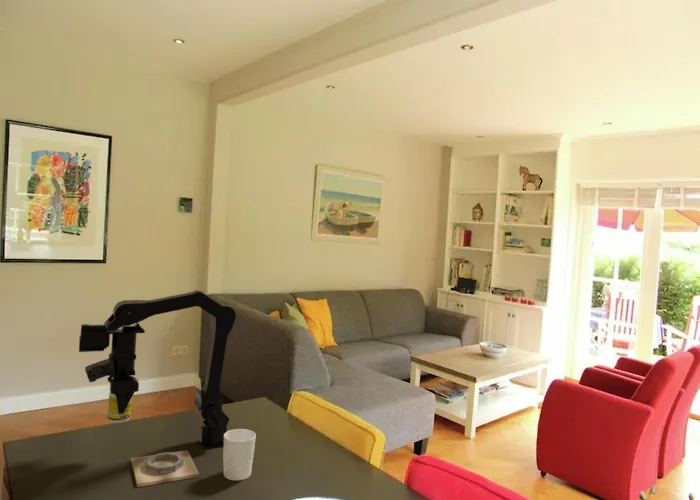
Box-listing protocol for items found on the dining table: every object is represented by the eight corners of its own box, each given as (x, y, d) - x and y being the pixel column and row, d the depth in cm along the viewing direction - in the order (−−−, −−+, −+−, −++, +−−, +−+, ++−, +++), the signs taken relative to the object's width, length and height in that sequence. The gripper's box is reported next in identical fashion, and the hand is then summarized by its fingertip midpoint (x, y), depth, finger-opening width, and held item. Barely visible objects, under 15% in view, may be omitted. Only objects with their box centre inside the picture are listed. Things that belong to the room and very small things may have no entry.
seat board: (187, 453, 133) (187, 444, 133) (198, 476, 121) (199, 467, 121) (130, 461, 126) (131, 452, 126) (137, 487, 114) (137, 477, 114)
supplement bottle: (121, 424, 125) (123, 386, 125) (102, 421, 126) (105, 383, 126) (134, 417, 130) (137, 380, 130) (116, 414, 131) (119, 377, 131)
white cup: (237, 485, 118) (240, 444, 118) (214, 475, 122) (216, 435, 122) (259, 473, 125) (262, 434, 125) (237, 464, 129) (239, 426, 129)
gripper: (87, 343, 132) (83, 401, 132) (89, 361, 116) (85, 426, 116) (132, 341, 137) (129, 397, 138) (140, 358, 121) (136, 421, 121)
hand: (119, 409), depth 128 cm, fingers closed on supplement bottle, 5 cm apart
